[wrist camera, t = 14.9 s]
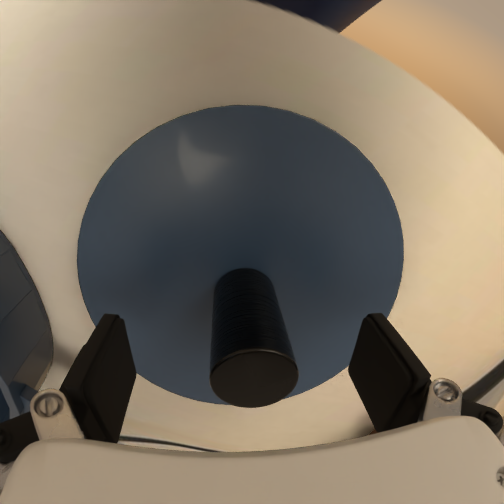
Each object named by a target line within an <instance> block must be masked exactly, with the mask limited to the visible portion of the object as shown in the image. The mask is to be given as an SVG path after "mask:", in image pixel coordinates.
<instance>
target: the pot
mask: <svg viewBox="0 0 504 504" xmlns="http://www.w3.org/2000/svg"><path fill="white" fill-rule="evenodd" d="M52 357H53V341H52V335H51V330H50V326H49V322H48V318H47V315H46V312H45V309H44V306H43V304H42V301H41V299H40V297H39V294H38V292H37V290H36V288H35V285H34V283H33V281H32V279H31V277H30V275H29V273H28V272H27V270H26V268H25V266H24V264H23V263H22V261H21V259H20V258H19V256H18V254H17V253H16V251H15V250H14V248H13V247H12V245H11V244H10V242H9V241H8V240H7V238H6V237H5V235H4V234H3V233H2V232H1V231H0V423H2V422H4V421H7V420H9V419H12V418H14V417H17V416H19V415H22V414H24V413H27V412H29V411H30V402H31V400H32V398H33V397H34V395H36V394H37V393H38V391H39V389H40V387H41V385H42V384H43V382H44V380H45V378H46V376H47V373H48V370H49V368H50V366H51V363H52Z"/></svg>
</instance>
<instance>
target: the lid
mask: <svg viewBox="0 0 504 504" xmlns="http://www.w3.org/2000/svg"><path fill="white" fill-rule="evenodd" d="M403 261H404V247H403V235H402V228H401V222H400V219H399V215H398V212H397V209H396V206H395V203H394V200H393V198H392V196H391V194H390V192H389V190H388V188H387V186H386V184H385V182H384V180H383V179H382V177H381V176H380V174H379V173H378V172H377V170H376V169H375V167H374V166H373V164H372V163H371V162H370V161H369V160H368V159H367V158H366V157H365V156H364V155H363V154H362V153H361V152H360V150H359V149H358V148H357V147H356V146H354V145H353V144H352V143H350V142H349V141H348V140H347V139H345V138H344V137H343V136H341V135H340V134H339V133H337V132H336V131H334V130H332V129H330V128H329V127H327V126H325V125H323V124H321V123H319V122H318V121H316V120H314V119H311V118H308V117H305V116H303V115H300V114H297V113H294V112H291V111H288V110H283V109H278V108H272V107H267V106H257V105H229V106H221V107H213V108H207V109H203V110H199V111H196V112H192V113H189V114H186V115H182V116H180V117H177V118H175V119H173V120H171V121H169V122H167V123H164V124H162V125H160V126H158V127H156V128H155V129H153V130H152V131H150V132H149V133H147V134H146V135H144V136H143V137H141V138H140V139H138V140H137V141H135V142H134V143H133V144H132V145H131V146H130V147H129V148H128V149H127V150H125V151H124V152H123V153H122V154H121V155H120V156H119V157H118V158H117V159H116V160H115V161H114V163H113V164H112V165H111V166H110V168H109V169H108V170H107V172H106V173H105V174H104V175H103V177H102V178H101V180H100V181H99V183H98V185H97V187H96V189H95V190H94V192H93V194H92V196H91V198H90V200H89V202H88V205H87V208H86V211H85V213H84V216H83V219H82V223H81V228H80V233H79V238H78V250H77V267H78V277H79V284H80V288H81V292H82V296H83V300H84V302H85V305H86V308H87V310H88V312H89V315H90V317H91V319H92V321H93V323H94V325H95V327H96V326H97V324H98V323H99V321H100V319H101V318H102V316H103V315H104V314H105V313H106V314H118V315H119V316H120V318H123V319H124V321H125V326H126V331H127V335H128V340H129V344H130V348H131V352H132V356H133V360H134V364H135V368H136V373H138V374H139V375H141V376H142V377H144V378H145V379H147V380H148V381H150V382H151V383H153V384H155V385H157V386H159V387H161V388H163V389H165V390H167V391H170V392H172V393H175V394H177V395H180V396H183V397H186V398H190V399H193V400H197V401H202V402H207V403H214V404H224V405H234V406H238V407H245V408H256V407H263V406H267V405H271V404H273V403H276V402H278V401H280V400H282V399H285V398H289V397H292V396H295V395H298V394H300V393H303V392H305V391H308V390H310V389H312V388H314V387H316V386H318V385H320V384H322V383H324V382H325V381H327V380H329V379H331V378H332V377H334V376H335V375H337V374H338V373H339V372H341V371H342V370H343V369H345V368H346V367H347V366H349V364H350V360H351V357H352V354H353V351H354V348H355V344H356V341H357V338H358V334H359V331H360V327H361V324H362V320H363V318H365V317H366V316H367V315H368V314H371V313H382V314H383V315H384V316H385V317H386V318H387V317H388V316H389V314H390V312H391V309H392V307H393V304H394V302H395V299H396V297H397V293H398V289H399V286H400V282H401V277H402V269H403Z"/></svg>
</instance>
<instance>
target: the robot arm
mask: <svg viewBox="0 0 504 504" xmlns="http://www.w3.org/2000/svg"><path fill="white" fill-rule="evenodd" d="M348 372H349V375H350V377H351V379H352V381H353V383H354V385H355V388H356V390H357V392H358V394H359V396H360V398H361V400H362V402H363V404H364V406H365V408H366V410H367V413H368V415H369V417H370V419H371V421H372V423H373V425H374V427H375V430H376V431H377V433H376V434H372V435H368V436H363V437H359V438H354V439H349V440H344V441H339V442H333V443H327V444H321V445H314V446H307V447H299V448H291V449H280V450H268V451H251V452H193V451H176V450H164V449H154V448H145V447H136V446H129V445H122V444H116V443H117V442H118V440H119V436H120V432H121V429H122V425H123V421H124V417H125V414H126V410H127V406H128V403H129V399H130V396H131V392H132V389H133V386H134V382H135V379H136V368H135V364H134V360H133V356H132V352H131V348H130V344H129V340H128V335H127V331H126V326H125V321H124V319H123V318H120V316H119V315H118V314H106V313H105V314H104V315H103V316H102V318H101V319H100V321H99V323H98V324H97V326H96V328H95V329H94V331H93V333H92V335H91V336H90V338H89V340H88V342H87V343H86V345H84V346H83V347H82V349H81V350H80V352H79V354H78V356H77V357H76V359H75V361H74V363H73V365H72V366H71V368H70V370H69V372H68V374H67V376H66V378H65V380H64V382H63V383H62V385H61V387H60V389H59V390H56V389H45V390H42V391H40V392H38V393H37V394H36V395H34V397H33V398H32V400H31V402H30V411H29V412H27V413H24V414H22V415H19V416H17V417H14V418H12V419H9V420H7V421H4V422H2V423H0V504H504V425H503V419H502V417H501V415H500V414H499V412H497V411H496V410H495V409H493V408H490V407H487V406H484V405H481V404H478V403H475V402H472V401H469V400H466V399H463V398H462V391H461V389H460V387H459V386H458V385H457V384H456V383H455V382H453V381H452V380H449V379H445V378H438V379H435V380H434V381H433V382H432V381H431V380H430V377H431V375H430V373H429V372H428V371H427V369H426V368H425V367H424V365H423V364H422V363H421V361H420V360H419V359H418V357H417V356H416V355H415V354H414V352H413V351H412V350H411V348H410V347H409V346H408V345H407V343H406V342H405V341H404V340H403V338H402V337H401V336H400V335H399V333H398V332H397V331H396V330H395V328H394V327H393V326H392V325H391V323H390V322H389V321H388V320H387V318H386V317H385V316H384V315H383V314H382V313H371V314H368V315H367V316H366V317H365V318H363V320H362V324H361V327H360V331H359V334H358V338H357V341H356V344H355V348H354V351H353V354H352V357H351V360H350V364H349V367H348Z"/></svg>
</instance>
